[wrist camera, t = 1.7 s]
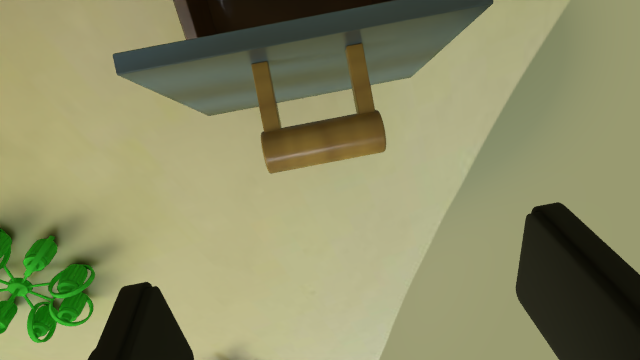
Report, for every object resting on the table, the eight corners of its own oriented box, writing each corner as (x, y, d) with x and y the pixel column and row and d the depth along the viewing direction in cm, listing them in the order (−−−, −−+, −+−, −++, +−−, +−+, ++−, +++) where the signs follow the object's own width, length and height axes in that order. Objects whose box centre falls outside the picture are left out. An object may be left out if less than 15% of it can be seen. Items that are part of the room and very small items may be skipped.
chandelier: (70, 335, 49) (43, 390, 43) (-72, 286, 43) (-126, 342, 37) (128, 259, 44) (107, 310, 38) (-24, 191, 38) (-78, 239, 32)
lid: (111, 53, 15) (142, 198, 15) (490, -19, 15) (515, 126, 15) (206, 104, 28) (222, 182, 28) (409, 65, 28) (423, 143, 28)
